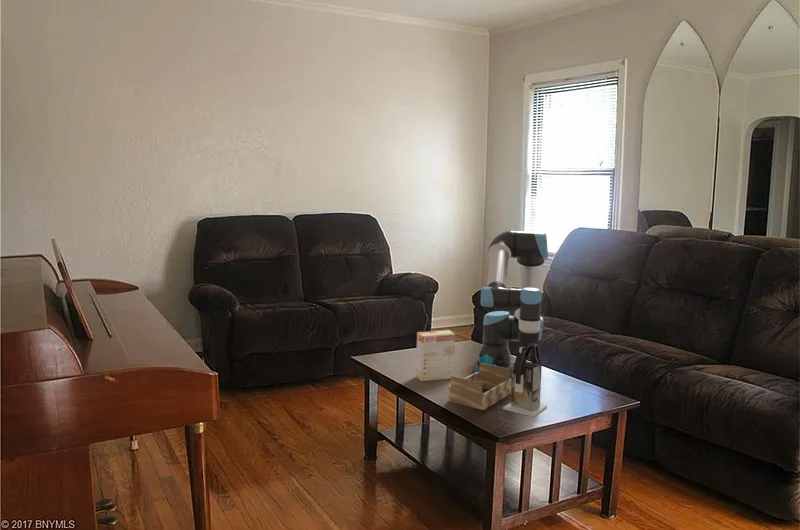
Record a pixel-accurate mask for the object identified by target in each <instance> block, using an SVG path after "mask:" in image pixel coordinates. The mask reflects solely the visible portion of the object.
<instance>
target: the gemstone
mask: <svg viewBox="0 0 800 530" xmlns="http://www.w3.org/2000/svg"><path fill="white" fill-rule="evenodd" d="M479 360H480V362H479V364H480V363H484V364H489V365H492V363H493V358H491V357H490V356H488V355H487V354H486V355H484V356H482V357H480V358H479ZM494 366H495V364H494ZM479 368H480V366H478V365H476V366H475V373H476V372H479Z"/></svg>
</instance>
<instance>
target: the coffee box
mask: <svg viewBox="0 0 800 530" xmlns="http://www.w3.org/2000/svg"><path fill="white" fill-rule="evenodd" d="M514 364H515V362H513V363H512V370H511V371H512V372H511V375H512V376H511V398H510V399H511V400H510V402H511V405H513V406H517V407H521V408H524V409H528V410H531V411H532V410H534V409H536V408H538V407H540V403H541V391H542V389H541V385H542V363H541V364H536V363H532V362H531V361H528V360H527V361H526V364H525V367H524V370H523V373H522V375H523V391H522V393H519V392H515V374H513V368H514Z"/></svg>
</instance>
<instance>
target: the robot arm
mask: <svg viewBox="0 0 800 530" xmlns="http://www.w3.org/2000/svg"><path fill="white" fill-rule="evenodd" d="M547 239H548V237H547V233H545V232H543V231H538V230H537V231H536V230H535V231H529V230H527V231H526V230H505V231H504V232H501V233H500V234H498V235H497V236H495V237H494V238H493V239H492V241H491V242H490V243H489V247H488V251H487V252H488V253H487V256H488V257H489V264H488V265H489V266H488V272H487V273H488V275H487V286H483V287H481V289H480V305H481V306H482V307H487V308H499V309H501V308H503V309H516V310H515V311H514V314H513V315H512V314H511V313H510V312H509V311H508V310H507V311H504V310H497V311H491V312H488V313H485V315H484V317H483V322H482V325H483V330H482V331H483V332H482V345H481V349H480V351H479V353H478V357H477V358H478V359H477V361H478V363H480V360H479V358H480V357H482V356H484V355H486V354H487V355H488V356H490V357H491V358H493V363H492V365H494V364H495V366H499V367H505V366H509V365H511V364H512V356H511V352H510V348H509V342H520V343H521V346H517V351H516V356H515V361H514V363H515V364H514V368H513V374H515V392H519V393H522V391H523V375H522V373H523V370H524V367H525V364H526V361H528V360H530V362H532V363H536V364H541V365H542V357H541V350H540V346H539V345H540V341H541V338H542V334H543V327H544V317H542V316H541V312H542V301H543V299H542V298H543V297H542V290H541V289H540V279H541V278H540V277H541V276H540V275H541V266H543V265H544V263H545V260H548V259H549V251H548V240H547ZM510 259H516V262H517V263H518V265H520V266H519V267H520V268H519V282H518V284H519V286H518V288H511V287H509V288H508V287H507V286H508V285H507V284H508V270H509V260H510Z"/></svg>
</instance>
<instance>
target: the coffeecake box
mask: <svg viewBox="0 0 800 530" xmlns="http://www.w3.org/2000/svg"><path fill="white" fill-rule="evenodd" d="M455 350H456V333H454V332H453V331H451V330H449V329H448V330H433V331H417V332H416V359H415V360H416V364H415V365H416V366H415V377H416V378H417V379H418V380H419V381H420V382H425V381H429V382H430V381H437V380H438V381H439V380H440V381H441V380H451V376H454V377H455V357H456V356H455V355H456V354H455V353H456V351H455Z"/></svg>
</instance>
